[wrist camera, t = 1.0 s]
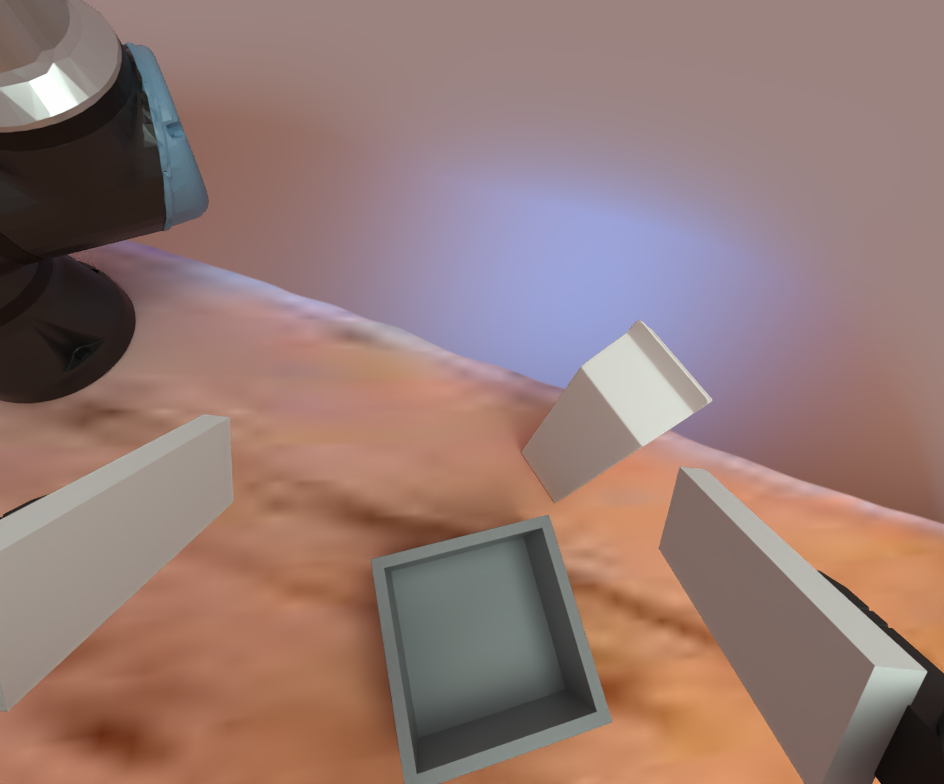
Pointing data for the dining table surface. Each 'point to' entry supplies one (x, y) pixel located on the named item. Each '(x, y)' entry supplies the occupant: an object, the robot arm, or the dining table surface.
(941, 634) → the dining table surface
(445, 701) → the tray
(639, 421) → the milk
